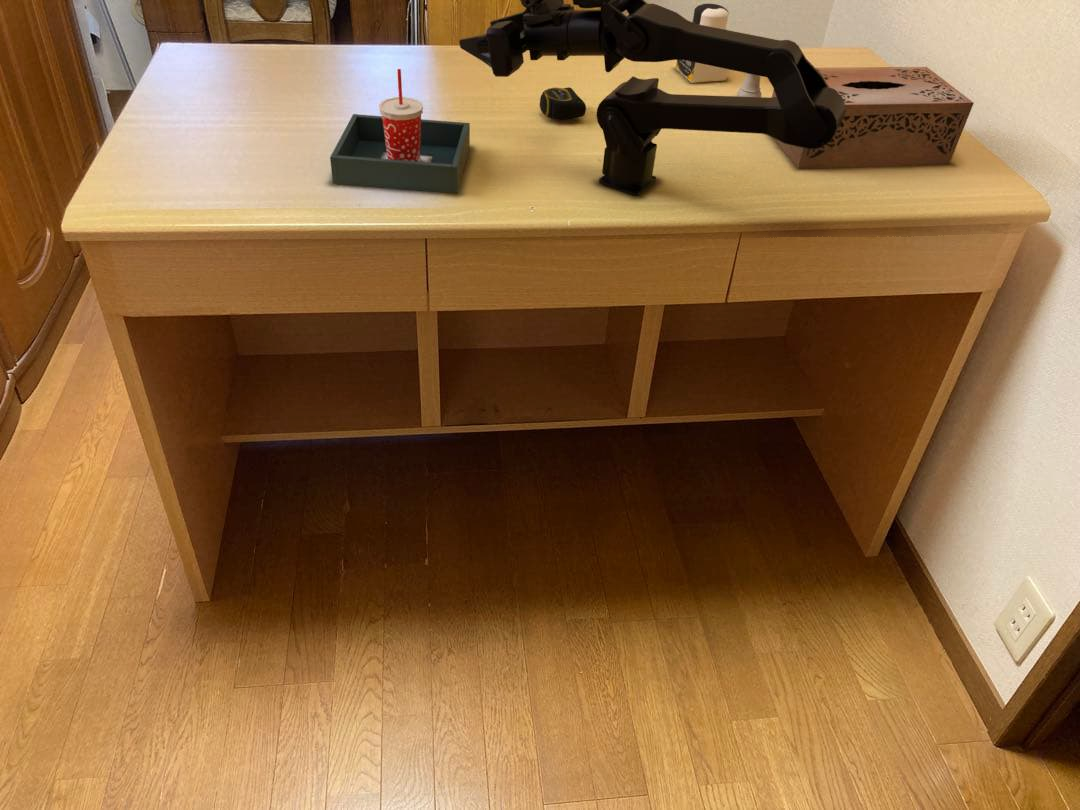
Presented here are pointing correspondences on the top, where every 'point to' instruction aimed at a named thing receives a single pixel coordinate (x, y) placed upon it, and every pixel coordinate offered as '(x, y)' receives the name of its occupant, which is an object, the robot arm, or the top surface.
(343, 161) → the crate
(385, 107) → the beverage cup
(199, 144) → the top surface
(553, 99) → the tape measure
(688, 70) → the medicine bottle
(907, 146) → the tissue box cover
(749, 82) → the rook chess piece
